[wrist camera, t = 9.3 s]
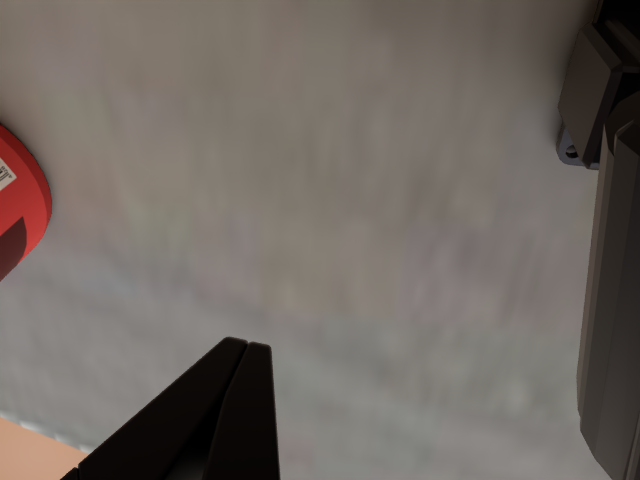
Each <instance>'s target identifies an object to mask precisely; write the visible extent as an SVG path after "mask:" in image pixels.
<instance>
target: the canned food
mask: <svg viewBox="0 0 640 480" xmlns="http://www.w3.org/2000/svg"><path fill="white" fill-rule="evenodd" d="M51 214H52V199H51V194H50V189H49V186H48V184H47V181H46V179H45V176H44V174H43V172H42V170H41V169H40V167H39V166H38V164H37V162H36V161H35V159H34V158H33V156H32V155H31V154H30V153H29V151H28V150H27V149H26V148H25V147H24V145H23V144H22V143H21V142H20V141H19V140H18V139H17V138H16V137H14V136H13V135H12V134H11V133H10V132H9V131H8V130H7V129H5V128H4V127H3V126H1V125H0V281H1V280H2V279H3V278H4V277H5V276H6V275H7V274H8V273H9V272H10V271H11V270H12V269H13V268H14V267H15V266H16V265H17V264H18V263H19V262H20V261H21V260H22V259H23V258H24V257H25V256H26V255H27V254H28V253H29V252H30V251H31V250H32V249H33V248H34V247H35V246H36V245H37V244H38V243H39V241H40V240H41V239H42V237H43V235H44V233H45V230H46V228H47V225H48V223H49V220H50V217H51Z"/></svg>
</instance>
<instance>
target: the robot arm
mask: <svg viewBox="0 0 640 480" xmlns="http://www.w3.org/2000/svg"><path fill="white" fill-rule="evenodd" d="M558 110H559V112H560V114H561V117H562V119H563V124H562V128H561V131H560V134H559V138H558V141H557V144H556V151H557V154H558V157H559V159H560V160H561V161H562V162H563V163H565V164H568V165H576V166H585V167H586V168H587V169H592V170H599V175H598V184H597V193H596V202H595V211H594V221H593V230H592V239H591V248H590V257H589V266H588V276H587V285H586V294H585V303H584V312H583V322H582V331H581V340H580V349H579V358H578V368H577V401H578V411H579V415H580V418H581V420H580V431H581V433H582V435H583V437H584V439H585V441H586V443H587V445H588V447H589V449H590V450H591V452H592V454H593V456H594V458H595V459H596V461H597V462H598V463H599V464H600V465H601V467H602V468H603V469H604V470H605V471H606V473H607V474H608V475H609V476H610V477H611V479H612V480H640V0H599V4H598V7H597V10H596V14H595V17H594V20H593V23H587V24H586V25H585V26H584V27H582V28H581V29H580V30H579V33H578V36H577V40H576V43H575V47H574V50H573V54H572V57H571V61H570V64H569V68H568V71H567V75H566V78H565V82H564V85H563V89H562V92H561V96H560V99H559V103H558ZM571 145H574V147H575V149H576V152H574V153H568V152H566V150H567V148H568V147H569V146H571ZM60 480H280V465H279V451H278V437H277V422H276V408H275V394H274V380H273V365H272V351H271V347H270V346H269V345H267V344H262V343H257V342H250V343H249V344H248V342H247V341H246V340H243V339H239V338H234V337H226V338H224V339H223V340H222V341H220V342H219V343H218V344H217V345H216V346H215V347H213V348H212V349H211V350H210V351H209V352H208V353H206V354H205V355H204V356H203V357H202V358H201V359H200V360H198V361H197V362H196V363H195V364H194V365H193V366H191V367H190V368H189V369H188V370H187V371H186V372H184V373H183V374H182V375H181V376H180V377H179V378H178V379H176V380H175V381H174V382H173V383H172V384H171V385H169V386H168V387H167V388H166V389H165V390H164V391H162V392H161V393H160V394H159V395H158V396H157V397H155V398H154V399H153V400H152V401H151V402H150V403H149V404H147V405H146V406H145V407H144V408H143V409H142V410H140V411H139V412H138V413H137V414H136V415H135V416H133V417H132V418H131V419H130V420H129V421H128V422H127V423H125V424H124V425H123V426H122V427H121V428H120V429H118V430H117V431H116V432H115V433H114V434H113V435H111V436H110V437H109V438H108V439H107V440H106V441H104V442H103V443H102V444H101V445H100V446H99V447H98V448H96V449H95V450H94V451H93V452H92V453H91V454H89V455H88V456H87V457H86V458H85V459H84V460H83V461H81V462H80V463H79V464H78V468H76V467H74V468H73V469H72V470H71V471H69V472H68V473H67V474H66V475H65V476H64V477H63V478H61V479H60Z"/></svg>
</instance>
